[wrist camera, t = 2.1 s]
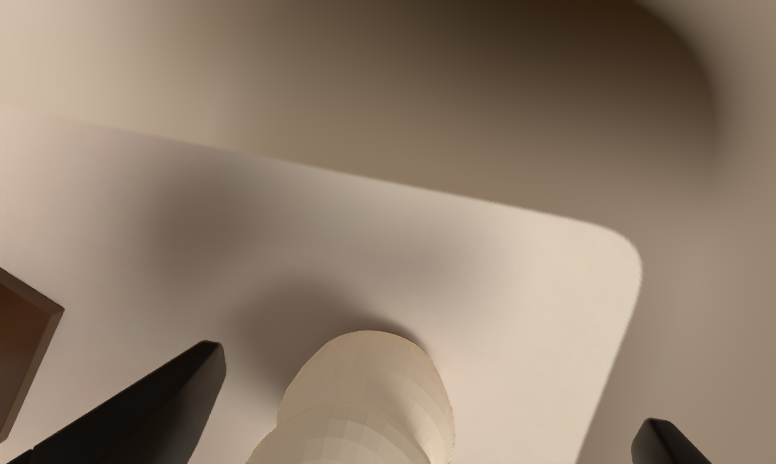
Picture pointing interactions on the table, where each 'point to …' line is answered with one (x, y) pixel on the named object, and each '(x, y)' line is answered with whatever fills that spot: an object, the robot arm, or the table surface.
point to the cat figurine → (363, 407)
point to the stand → (21, 343)
